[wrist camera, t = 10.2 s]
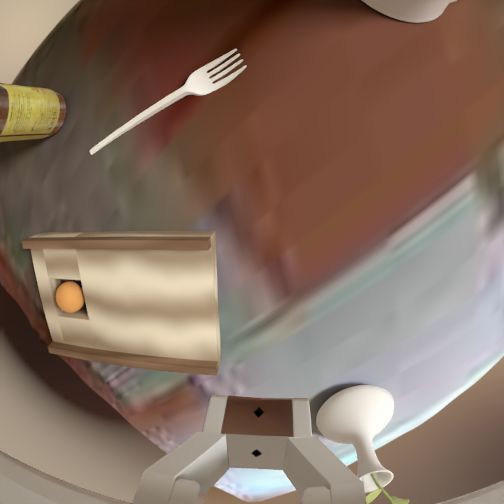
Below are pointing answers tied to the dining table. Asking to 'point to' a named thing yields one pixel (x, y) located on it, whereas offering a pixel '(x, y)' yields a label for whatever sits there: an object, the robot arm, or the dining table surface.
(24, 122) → the sauce bottle
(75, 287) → the ball
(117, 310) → the beige tray
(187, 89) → the fork
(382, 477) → the flower in vase
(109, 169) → the dining table surface
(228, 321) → the dining table surface
